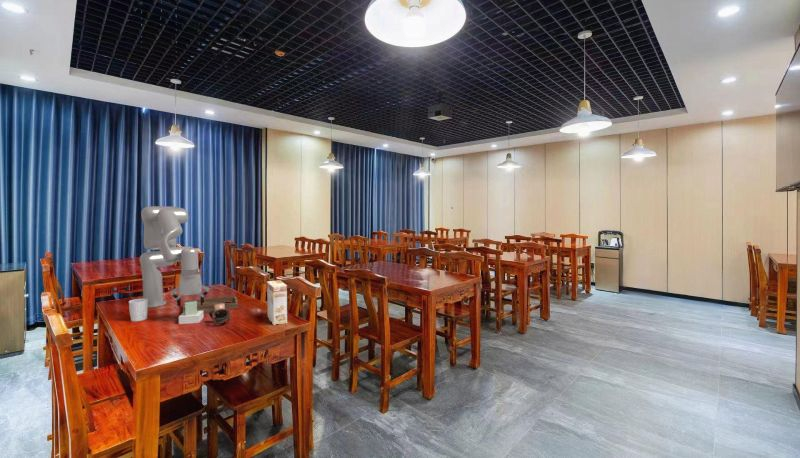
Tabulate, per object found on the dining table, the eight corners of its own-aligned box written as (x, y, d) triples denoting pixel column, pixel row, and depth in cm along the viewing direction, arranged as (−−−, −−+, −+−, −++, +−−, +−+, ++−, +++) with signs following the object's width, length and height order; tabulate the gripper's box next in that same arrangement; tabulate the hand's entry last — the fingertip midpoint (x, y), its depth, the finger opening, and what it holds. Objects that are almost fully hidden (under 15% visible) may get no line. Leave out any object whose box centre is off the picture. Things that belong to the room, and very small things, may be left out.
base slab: (184, 319, 186) (184, 311, 186) (203, 317, 189) (203, 310, 189) (178, 324, 178) (178, 316, 177) (199, 323, 180) (198, 315, 180)
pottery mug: (236, 321, 185) (234, 309, 180) (223, 334, 177) (222, 323, 172) (215, 314, 186) (213, 302, 182) (202, 327, 178) (200, 315, 174)
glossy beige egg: (214, 312, 197) (214, 304, 196) (224, 311, 199) (224, 302, 199) (214, 315, 192) (214, 306, 192) (224, 314, 194) (224, 305, 194)
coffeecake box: (287, 323, 180) (287, 285, 179) (273, 325, 177) (272, 286, 175) (281, 315, 193) (280, 279, 192) (267, 317, 189) (266, 281, 188)
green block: (186, 313, 184) (185, 301, 183) (197, 311, 186) (196, 300, 186) (185, 315, 179) (185, 303, 179) (196, 314, 182) (196, 302, 181)
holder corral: (184, 307, 207) (184, 301, 207) (236, 301, 220) (235, 295, 220) (182, 315, 192) (182, 308, 192) (237, 308, 205) (237, 302, 205)
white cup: (138, 322, 180) (137, 302, 179) (125, 321, 181) (124, 301, 181) (152, 317, 187) (151, 298, 187) (139, 316, 189) (138, 297, 188)
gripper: (209, 270, 189) (209, 301, 190) (170, 272, 181) (171, 305, 182) (209, 272, 182) (209, 305, 184) (169, 275, 174) (170, 309, 176)
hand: (190, 305), depth 183 cm, fingers open, 9 cm apart
